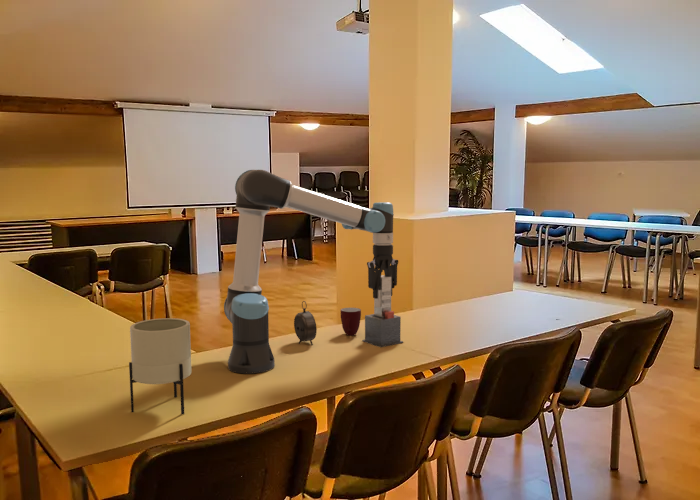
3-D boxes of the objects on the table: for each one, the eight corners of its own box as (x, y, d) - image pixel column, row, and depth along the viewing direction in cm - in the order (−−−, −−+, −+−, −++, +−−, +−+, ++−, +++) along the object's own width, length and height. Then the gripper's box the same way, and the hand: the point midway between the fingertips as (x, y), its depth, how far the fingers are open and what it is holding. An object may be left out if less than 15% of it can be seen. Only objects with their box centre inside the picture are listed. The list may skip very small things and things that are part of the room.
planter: (129, 402, 169) (125, 321, 167) (188, 394, 176) (185, 315, 173) (133, 422, 155) (129, 334, 153) (196, 413, 162) (193, 327, 159)
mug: (359, 338, 236) (359, 313, 234) (338, 338, 236) (338, 313, 235) (361, 332, 246) (361, 307, 245) (341, 331, 247) (341, 307, 246)
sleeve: (380, 347, 223) (380, 314, 222) (362, 341, 232) (362, 309, 231) (403, 342, 230) (403, 310, 228) (384, 336, 239) (384, 305, 237)
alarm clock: (317, 345, 226) (317, 302, 224) (304, 347, 223) (304, 304, 222) (304, 339, 236) (303, 297, 234) (291, 341, 233) (291, 299, 231)
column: (382, 341, 227) (382, 278, 225) (374, 338, 231) (374, 276, 229) (391, 339, 230) (392, 276, 227) (383, 337, 234) (383, 275, 231)
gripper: (370, 246, 219) (370, 310, 221) (407, 243, 229) (406, 304, 232) (357, 244, 225) (358, 307, 227) (394, 241, 235) (394, 301, 238)
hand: (382, 305), depth 229 cm, fingers closed on column, 4 cm apart
